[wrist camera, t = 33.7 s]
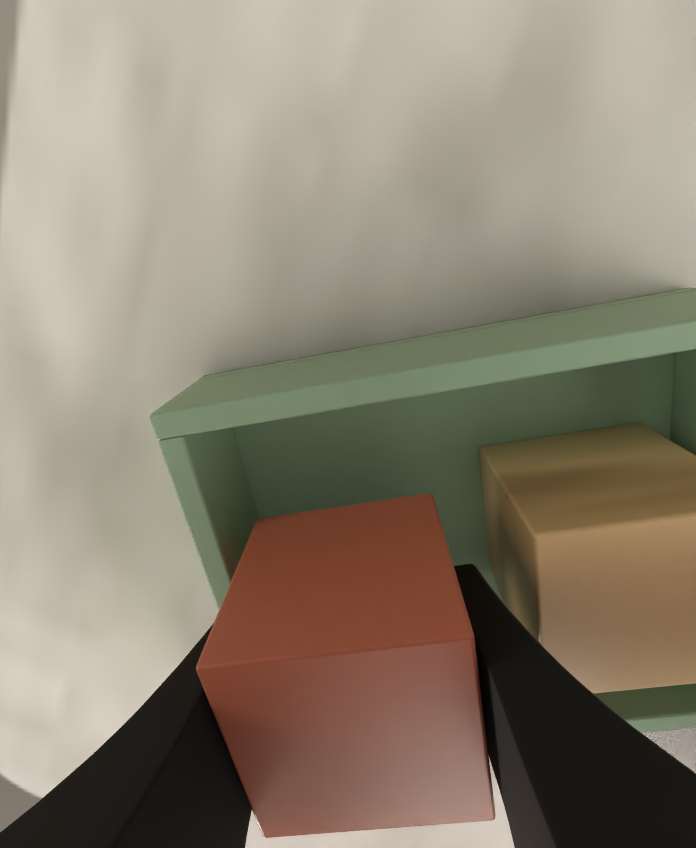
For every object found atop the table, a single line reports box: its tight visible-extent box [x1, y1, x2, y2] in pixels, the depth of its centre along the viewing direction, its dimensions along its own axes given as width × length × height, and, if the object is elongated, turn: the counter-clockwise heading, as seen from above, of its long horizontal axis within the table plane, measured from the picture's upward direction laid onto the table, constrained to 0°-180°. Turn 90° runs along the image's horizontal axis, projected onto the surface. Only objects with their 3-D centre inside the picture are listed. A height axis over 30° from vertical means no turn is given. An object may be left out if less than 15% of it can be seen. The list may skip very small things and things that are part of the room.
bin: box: [150, 288, 696, 733], centre depth 12 cm, size 11×13×4 cm
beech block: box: [479, 423, 696, 693], centre depth 11 cm, size 4×4×4 cm
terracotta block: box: [196, 493, 495, 838], centre depth 10 cm, size 4×4×4 cm
